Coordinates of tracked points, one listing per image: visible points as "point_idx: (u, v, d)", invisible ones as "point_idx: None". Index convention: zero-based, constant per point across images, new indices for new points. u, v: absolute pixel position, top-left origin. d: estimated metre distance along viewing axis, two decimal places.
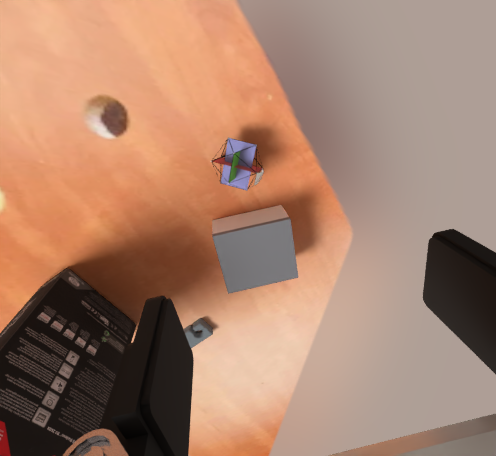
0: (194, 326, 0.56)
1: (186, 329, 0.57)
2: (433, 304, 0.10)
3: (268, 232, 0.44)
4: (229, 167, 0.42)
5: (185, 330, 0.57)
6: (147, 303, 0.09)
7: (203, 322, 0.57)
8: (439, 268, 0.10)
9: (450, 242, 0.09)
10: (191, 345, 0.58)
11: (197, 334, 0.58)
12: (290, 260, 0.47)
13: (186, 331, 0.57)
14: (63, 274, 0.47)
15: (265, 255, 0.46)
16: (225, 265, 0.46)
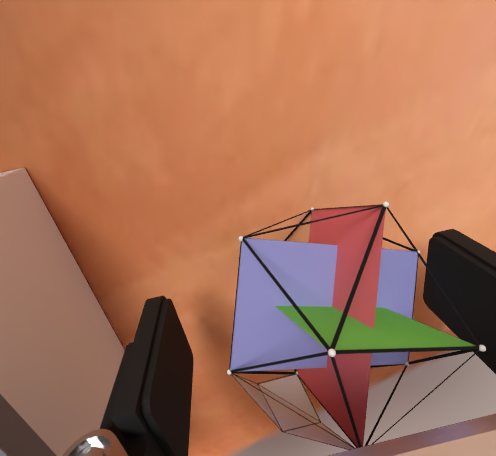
0: None
1: None
2: (433, 304, 0.10)
3: None
4: (316, 271, 0.10)
5: None
6: (147, 303, 0.09)
7: None
8: (439, 268, 0.10)
9: (450, 242, 0.09)
10: None
11: None
12: None
13: None
14: None
15: None
16: None
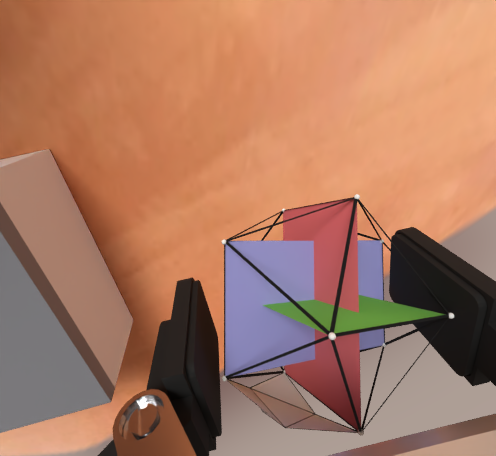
0: None
1: None
2: (397, 298, 0.11)
3: (47, 363, 0.13)
4: (297, 267, 0.10)
5: None
6: (178, 284, 0.10)
7: None
8: (400, 264, 0.10)
9: (409, 239, 0.10)
10: None
11: None
12: None
13: None
14: None
15: None
16: None
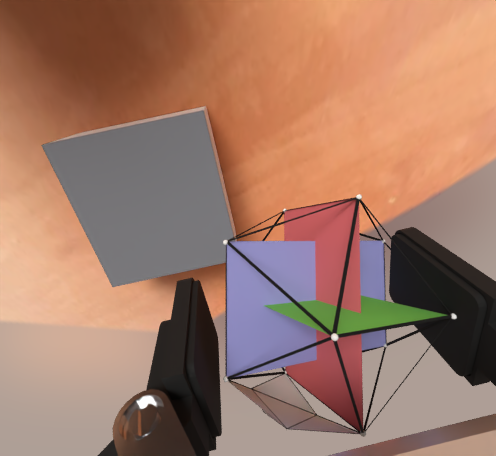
0: None
1: None
2: (397, 298, 0.11)
3: (212, 226, 0.23)
4: (298, 267, 0.10)
5: None
6: (178, 284, 0.10)
7: None
8: (400, 264, 0.10)
9: (409, 239, 0.10)
10: None
11: None
12: (151, 269, 0.24)
13: None
14: None
15: (160, 223, 0.22)
16: (126, 139, 0.20)
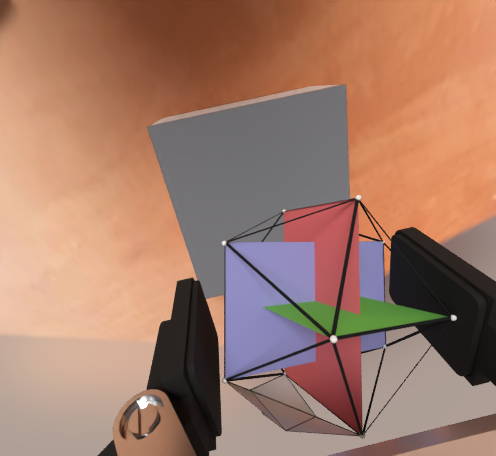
0: None
1: None
2: (397, 299, 0.11)
3: None
4: (298, 268, 0.10)
5: None
6: (179, 284, 0.10)
7: None
8: (400, 264, 0.10)
9: (409, 239, 0.10)
10: None
11: None
12: None
13: None
14: None
15: (270, 224, 0.19)
16: (250, 120, 0.16)
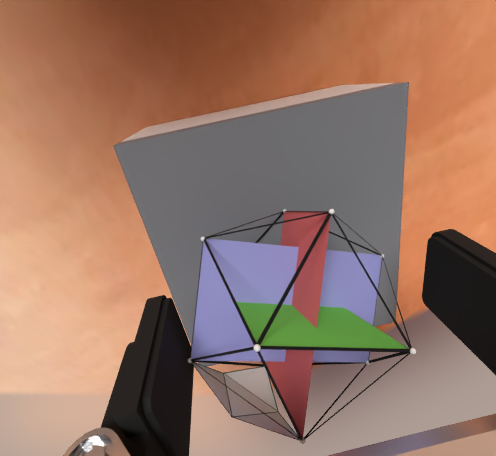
0: None
1: None
2: (432, 304, 0.10)
3: None
4: (276, 271, 0.10)
5: None
6: (148, 302, 0.09)
7: None
8: (438, 268, 0.10)
9: (449, 241, 0.09)
10: None
11: None
12: None
13: None
14: None
15: None
16: (266, 135, 0.11)
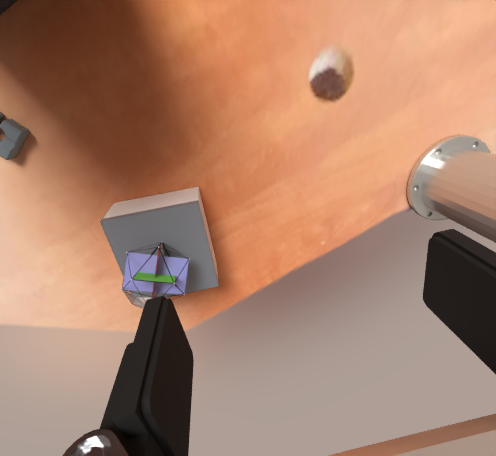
0: (9, 122, 0.31)
1: None
2: (433, 304, 0.10)
3: (201, 266, 0.36)
4: (151, 263, 0.32)
5: None
6: (147, 303, 0.09)
7: (24, 137, 0.32)
8: (439, 268, 0.10)
9: (450, 242, 0.09)
10: None
11: None
12: None
13: None
14: None
15: None
16: (151, 218, 0.33)
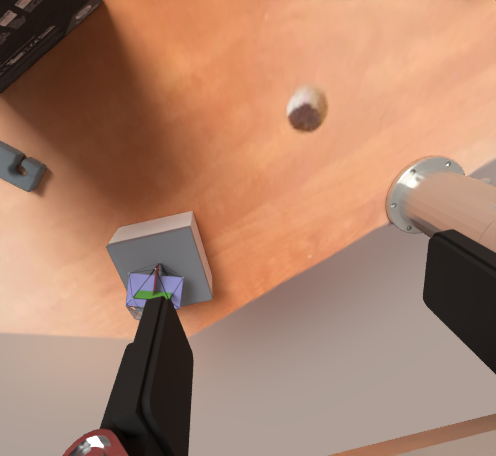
0: (28, 161, 0.36)
1: (13, 150, 0.36)
2: (433, 304, 0.10)
3: (196, 282, 0.41)
4: (150, 282, 0.37)
5: (11, 149, 0.36)
6: (147, 303, 0.09)
7: (41, 172, 0.37)
8: (439, 268, 0.10)
9: (450, 242, 0.09)
10: None
11: (14, 169, 0.37)
12: None
13: (11, 151, 0.35)
14: None
15: None
16: (150, 242, 0.37)
